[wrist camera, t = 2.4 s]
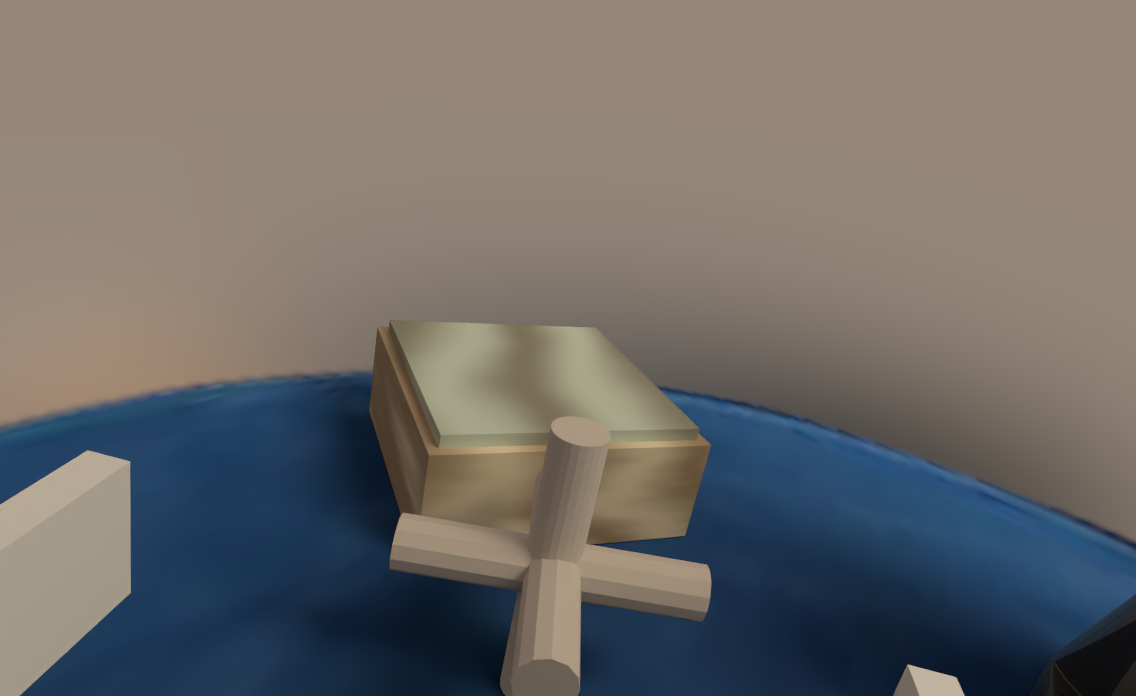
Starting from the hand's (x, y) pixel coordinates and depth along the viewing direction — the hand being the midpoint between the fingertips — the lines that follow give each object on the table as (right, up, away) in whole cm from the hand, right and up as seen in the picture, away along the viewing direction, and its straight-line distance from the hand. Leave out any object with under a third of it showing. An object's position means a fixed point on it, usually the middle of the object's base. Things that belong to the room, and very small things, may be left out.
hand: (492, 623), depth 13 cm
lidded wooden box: (-1, -2, +27) cm, 27 cm away
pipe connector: (0, -7, +14) cm, 15 cm away
